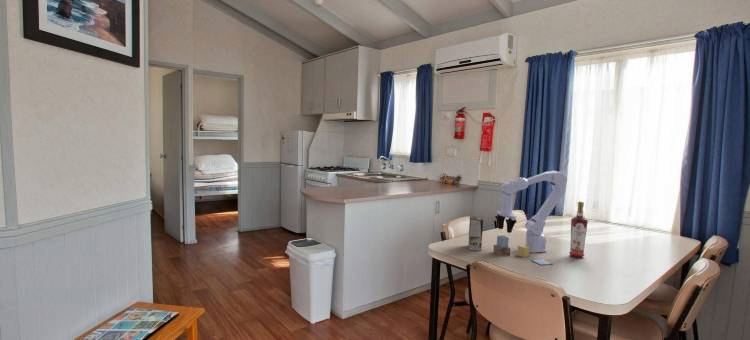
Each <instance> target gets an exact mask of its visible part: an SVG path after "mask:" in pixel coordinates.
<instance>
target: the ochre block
mask: <svg viewBox="0 0 750 340" xmlns="http://www.w3.org/2000/svg"><path fill="white" fill-rule="evenodd" d="M529 251H530V247H529V246H526V244H518V245H517V252H516V253H517V254H516V255H517V256H518V257H520V258H528V257H530V252H529Z"/></svg>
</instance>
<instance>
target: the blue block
mask: <svg viewBox="0 0 750 340" xmlns="http://www.w3.org/2000/svg"><path fill="white" fill-rule="evenodd" d="M496 236H497V237H496V245H497V246H499V247H501V248H504V247H509V243H510V242H509V239H510V237H508V236H506V235H496Z"/></svg>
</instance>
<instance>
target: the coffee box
mask: <svg viewBox="0 0 750 340" xmlns="http://www.w3.org/2000/svg"><path fill="white" fill-rule="evenodd" d="M468 225H469V226H468V227H469V229H468V249H469V250H470V251H479V252H481V251H482V244H483V231H484V230H483V229H484V228H483V227H484V219H483V217H481V216H469V224H468Z"/></svg>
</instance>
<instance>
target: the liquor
mask: <svg viewBox="0 0 750 340" xmlns="http://www.w3.org/2000/svg"><path fill="white" fill-rule="evenodd" d="M584 204H585V202H584V201H577V211H576V216H574V217H572V218H571V219H570V220H571V221H570V250H569V253H568V254H569V255H570V256H571V257H573V258H577V259H581V258H584V256H585V244H586V236H587V229H588V222H589V220H588V219H587V218H585V217H584V206H585V205H584Z"/></svg>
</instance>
